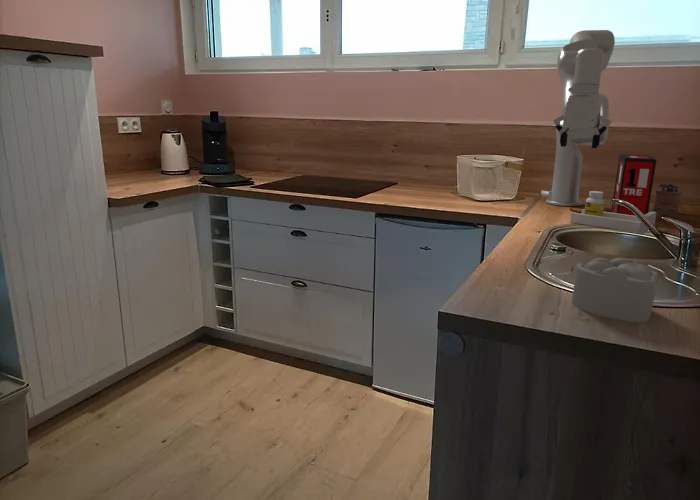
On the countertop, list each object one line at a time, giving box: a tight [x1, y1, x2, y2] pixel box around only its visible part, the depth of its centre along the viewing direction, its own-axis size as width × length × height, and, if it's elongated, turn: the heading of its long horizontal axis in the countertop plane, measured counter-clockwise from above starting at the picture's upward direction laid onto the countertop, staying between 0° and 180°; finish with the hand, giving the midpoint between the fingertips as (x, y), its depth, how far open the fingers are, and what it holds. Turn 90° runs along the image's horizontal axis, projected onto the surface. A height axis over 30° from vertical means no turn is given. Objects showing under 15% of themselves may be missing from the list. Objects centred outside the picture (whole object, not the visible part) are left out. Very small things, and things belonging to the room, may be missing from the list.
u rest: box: [569, 208, 658, 234], centre depth 168 cm, size 22×10×5 cm, turn 48°
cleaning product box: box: [611, 154, 657, 216], centre depth 181 cm, size 16×9×20 cm, turn 160°
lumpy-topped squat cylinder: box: [571, 257, 659, 323], centre depth 97 cm, size 10×13×9 cm
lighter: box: [652, 183, 683, 215], centre depth 191 cm, size 8×3×10 cm, turn 58°
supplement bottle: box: [584, 190, 605, 217], centre depth 171 cm, size 5×5×10 cm
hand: (578, 147), depth 172 cm, fingers open, 9 cm apart
